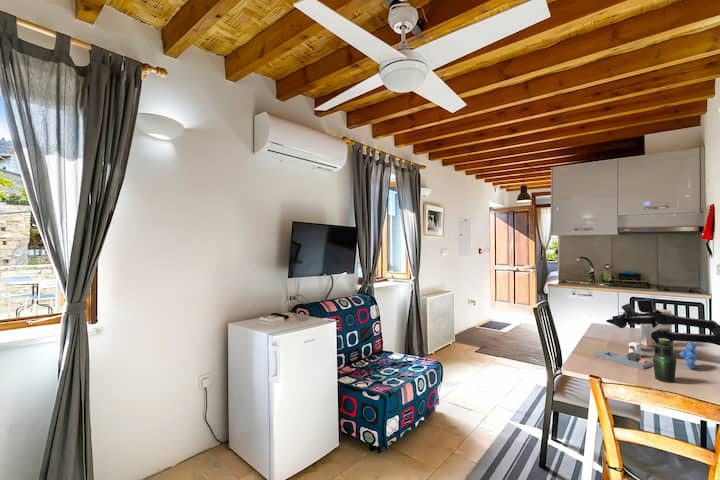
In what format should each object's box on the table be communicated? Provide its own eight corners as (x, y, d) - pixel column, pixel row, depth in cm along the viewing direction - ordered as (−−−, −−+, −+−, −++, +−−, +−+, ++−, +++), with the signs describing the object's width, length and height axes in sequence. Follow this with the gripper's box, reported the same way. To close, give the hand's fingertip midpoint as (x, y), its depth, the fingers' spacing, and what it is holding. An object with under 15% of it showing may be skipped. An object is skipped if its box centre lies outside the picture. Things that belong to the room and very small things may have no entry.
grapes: (680, 362, 180) (679, 338, 180) (698, 365, 175) (698, 341, 175) (678, 368, 172) (677, 343, 172) (697, 372, 167) (697, 346, 167)
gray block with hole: (652, 365, 177) (652, 355, 177) (643, 369, 172) (642, 358, 172) (604, 353, 196) (604, 344, 196) (594, 356, 191) (594, 347, 191)
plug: (640, 356, 190) (640, 343, 190) (634, 358, 187) (634, 345, 187) (633, 354, 193) (632, 342, 193) (627, 357, 190) (626, 343, 190)
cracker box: (665, 344, 211) (664, 308, 211) (672, 347, 205) (672, 310, 205) (639, 344, 212) (639, 308, 212) (646, 347, 206) (646, 310, 206)
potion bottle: (665, 376, 163) (664, 336, 163) (682, 383, 155) (681, 341, 155) (648, 376, 163) (647, 337, 163) (663, 383, 155) (663, 342, 155)
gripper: (642, 301, 204) (611, 302, 216) (631, 307, 193) (599, 308, 205) (648, 320, 203) (616, 321, 215) (637, 328, 192) (604, 328, 204)
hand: (609, 319), depth 210 cm, fingers open, 9 cm apart
